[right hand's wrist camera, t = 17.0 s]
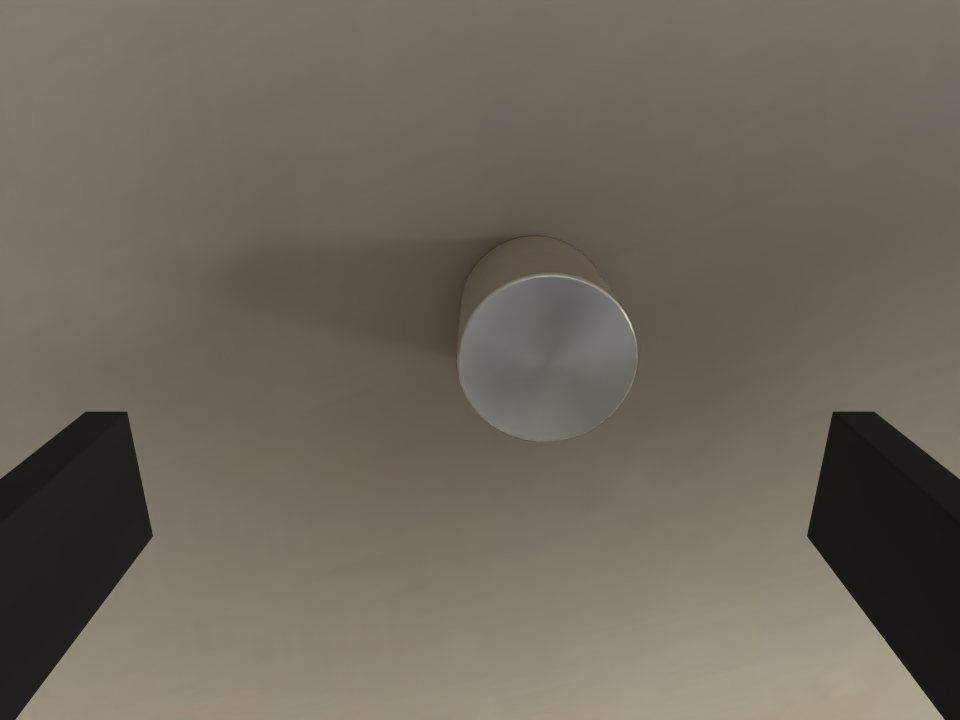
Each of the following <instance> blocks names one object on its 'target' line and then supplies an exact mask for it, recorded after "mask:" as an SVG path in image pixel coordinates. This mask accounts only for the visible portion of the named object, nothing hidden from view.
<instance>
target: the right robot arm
mask: <svg viewBox="0 0 960 720" xmlns="http://www.w3.org/2000/svg"><path fill="white" fill-rule="evenodd" d="M152 537H153V534H152V529H151V525H150V520H149V515H148V510H147V505H146V501H145V496H144V491H143V486H142V481H141V477H140V472H139V467H138V462H137V457H136V452H135V448H134V443H133V438H132V433H131V428H130V424H129V419H128V414H127V412H85V413H84V414H82V415H81V416H80V417H79V418H77V419H76V420H75V421H73V422H72V423H71V424H70V425H68V426H67V427H66V428H65V429H63V430H62V431H61V432H60V433H58V434H57V435H56V436H55V437H53V438H52V439H51V440H49V441H48V442H47V443H46V444H44V445H43V446H42V447H41V448H39V449H38V450H37V451H36V452H34V453H33V454H32V455H30V456H29V457H28V458H27V459H25V460H24V461H23V462H22V463H20V464H19V465H18V466H17V467H15V468H14V469H13V470H11V471H10V472H9V473H8V474H6V475H5V476H4V477H3V478H1V479H0V720H15V719H16V718H17V717H18V715H19V714H20V713H21V711H22V710H23V709H24V707H25V706H26V705H27V703H28V702H29V701H30V699H31V698H32V697H33V695H34V694H35V693H36V691H37V690H38V689H39V687H40V686H41V685H42V683H43V682H44V681H45V679H46V678H47V677H48V675H49V674H50V673H51V671H52V670H53V669H54V667H55V666H56V665H57V663H58V662H59V661H60V659H61V658H62V657H63V655H64V654H65V653H66V651H67V650H68V649H69V647H70V646H71V645H72V643H73V642H74V641H75V639H76V638H77V637H78V635H79V634H80V633H81V631H82V630H83V629H84V627H85V626H86V625H87V623H88V622H89V621H90V619H91V618H92V617H93V615H94V614H95V613H96V611H97V610H98V609H99V607H100V606H101V605H102V603H103V602H104V601H105V599H106V598H107V597H108V595H109V594H110V593H111V591H112V590H113V589H114V587H115V586H116V585H117V583H118V582H119V581H120V579H121V578H122V577H123V575H124V574H125V573H126V571H127V570H128V569H129V567H130V566H131V565H132V563H133V562H134V561H135V559H136V558H137V557H138V555H139V554H140V553H141V551H142V550H143V549H144V547H145V546H146V545H147V543H148V542H149V541H150V539H151V538H152ZM807 537H808V538H809V539H810V541H811V542H812V543H813V545H814V546H815V547H816V549H817V550H818V551H819V553H820V554H821V555H822V557H823V558H824V559H825V561H826V562H827V563H828V565H829V566H830V567H831V569H832V570H833V571H834V573H835V574H836V575H837V577H838V578H839V579H840V581H841V582H842V583H843V585H844V586H845V587H846V589H847V590H848V591H849V593H850V594H851V595H852V597H853V598H854V599H855V601H856V602H857V603H858V605H859V606H860V607H861V609H862V610H863V611H864V613H865V614H866V615H867V617H868V618H869V619H870V621H871V622H872V623H873V625H874V626H875V627H876V629H877V630H878V631H879V633H880V634H881V635H882V637H883V638H884V639H885V641H886V642H887V643H888V645H889V646H890V647H891V649H892V650H893V651H894V653H895V654H896V655H897V657H898V658H899V659H900V661H901V662H902V663H903V665H904V666H905V667H906V669H907V670H908V671H909V673H910V674H911V675H912V677H913V678H914V679H915V681H916V682H917V683H918V685H919V686H920V687H921V689H922V690H923V691H924V693H925V694H926V695H927V697H928V698H929V699H930V701H931V702H932V703H933V705H934V706H935V707H936V709H937V710H938V711H939V713H940V714H941V715H942V717H943V718H944V719H945V720H960V479H959V478H957V477H956V476H955V475H954V474H952V473H951V472H950V471H949V470H947V469H946V468H945V467H943V466H942V465H941V464H940V463H938V462H937V461H936V460H935V459H933V458H932V457H931V456H930V455H928V454H927V453H926V452H924V451H923V450H922V449H921V448H919V447H918V446H917V445H916V444H914V443H913V442H912V441H911V440H909V439H908V438H907V437H905V436H904V435H903V434H902V433H900V432H899V431H898V430H897V429H895V428H894V427H893V426H892V425H890V424H889V423H888V422H887V421H885V420H884V419H883V418H881V417H880V416H879V415H878V414H876V413H875V412H833V414H832V419H831V424H830V428H829V433H828V438H827V443H826V448H825V452H824V457H823V462H822V467H821V472H820V477H819V481H818V486H817V491H816V496H815V501H814V505H813V510H812V515H811V520H810V525H809V529H808V534H807Z"/></svg>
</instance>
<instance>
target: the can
mask: <svg viewBox="0 0 960 720" xmlns="http://www.w3.org/2000/svg"><path fill="white" fill-rule="evenodd" d="M456 358H457V372H458V378H459V381H460V385H461V388H462V390H463V392H464V394H465V397H466V398H467V400H468V402H469V403H470V405H471V406H472V408H473V409H474V410H475V411H476V412H477V413H478V415H479V416H480V417H481V418H483V419H484V420H485V421H486V422H487V423H488V424H490V425H491V426H493V427H494V428H496V429H497V430H499V431H501V432H503V433H505V434H507V435H510V436H513V437H515V438H518V439H523V440H527V441H534V442H555V441H562V440H566V439H571V438H574V437H577V436H579V435H582V434H584V433H586V432H588V431H590V430H592V429H594V428H596V427H597V426H599V425H600V424H602V423H603V422H604V421H605V420H606V419H608V418H609V417H610V416H611V415H612V414H613V413H614V412H615V411H616V410H617V409H618V407H619V406H620V405H621V403H622V402H623V401H624V399H625V398H626V396H627V394H628V392H629V390H630V388H631V386H632V383H633V381H634V378H635V374H636V370H637V365H638V343H637V338H636V333H635V330H634V327H633V324H632V322H631V320H630V318H629V316H628V314H627V312H626V311H625V309H624V308H623V306H622V305H621V304H620V302H619V301H618V300H617V298H616V297H615V295H614V294H613V293H612V291H611V290H610V289H609V287H608V286H607V284H606V283H605V282H604V280H603V279H602V277H601V276H600V275H599V273H598V272H597V271H596V269H595V268H594V266H593V265H592V264H591V262H590V261H589V260H588V259H587V258H586V257H585V256H584V255H583V254H582V253H581V252H580V251H578V250H577V249H576V248H574V247H572V246H571V245H569V244H567V243H565V242H562V241H560V240H557V239H553V238H550V237H542V236H528V237H520V238H516V239H513V240H510V241H507V242H505V243H502V244H500V245H499V246H497V247H495V248H493V249H492V250H491V251H489V252H488V253H487V254H486V255H485V256H484V257H483V258H481V259H480V260H479V262H478V263H477V264H476V265H475V267H474V268H473V269H472V271H471V273H470V275H469V276H468V279H467V281H466V283H465V286H464V290H463V293H462V300H461V310H460V321H459V332H458V344H457V355H456Z"/></svg>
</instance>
